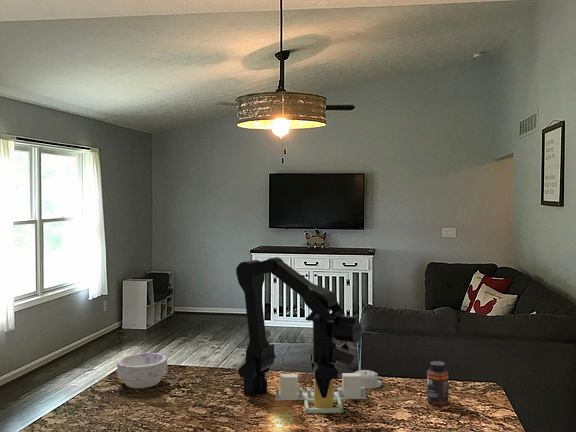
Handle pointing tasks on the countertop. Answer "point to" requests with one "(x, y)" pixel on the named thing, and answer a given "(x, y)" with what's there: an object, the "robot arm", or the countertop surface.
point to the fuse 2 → (351, 385)
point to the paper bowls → (142, 369)
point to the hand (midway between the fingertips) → (323, 394)
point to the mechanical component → (369, 379)
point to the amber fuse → (323, 402)
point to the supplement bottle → (437, 384)
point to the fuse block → (310, 395)
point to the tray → (324, 410)
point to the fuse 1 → (288, 385)
